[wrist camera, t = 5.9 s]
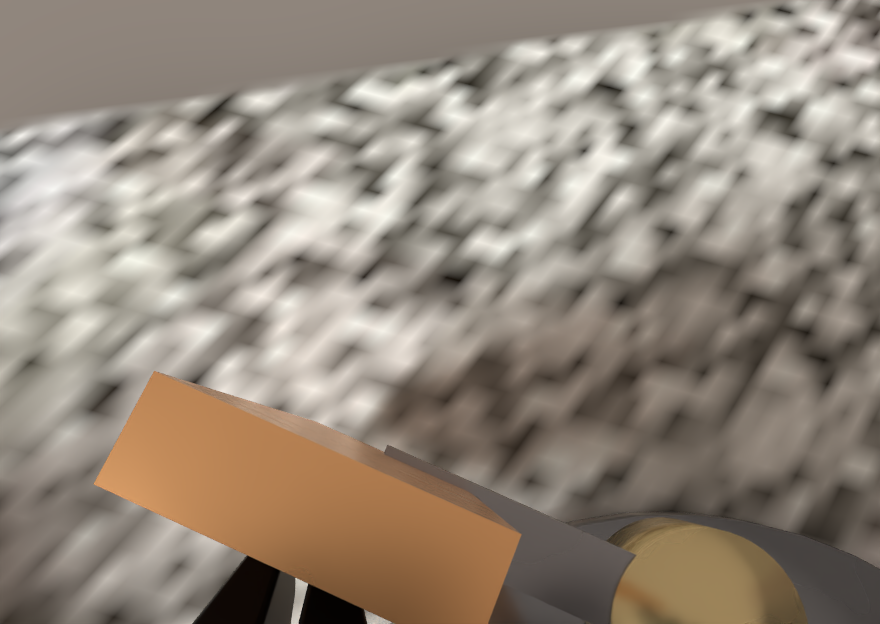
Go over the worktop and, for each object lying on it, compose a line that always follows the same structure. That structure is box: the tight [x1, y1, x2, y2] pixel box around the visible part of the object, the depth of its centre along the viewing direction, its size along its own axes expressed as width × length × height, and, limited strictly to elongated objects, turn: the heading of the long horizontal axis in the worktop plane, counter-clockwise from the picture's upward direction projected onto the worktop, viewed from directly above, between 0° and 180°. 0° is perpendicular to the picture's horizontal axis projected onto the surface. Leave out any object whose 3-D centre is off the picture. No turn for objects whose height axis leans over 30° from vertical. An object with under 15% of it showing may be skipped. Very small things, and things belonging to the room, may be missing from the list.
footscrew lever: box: [94, 371, 808, 624], centre depth 11 cm, size 12×4×10 cm, turn 67°
